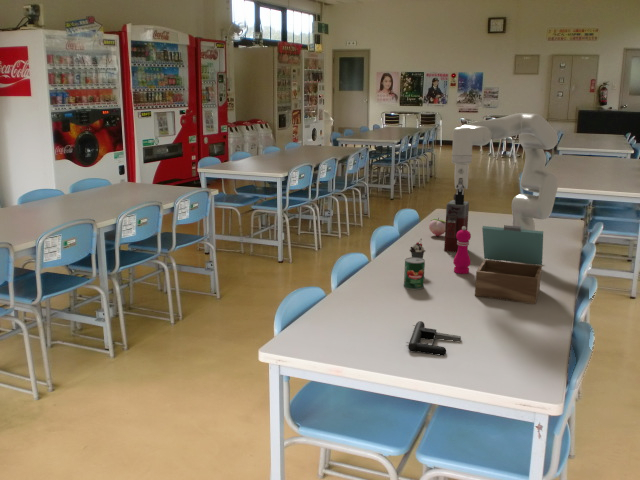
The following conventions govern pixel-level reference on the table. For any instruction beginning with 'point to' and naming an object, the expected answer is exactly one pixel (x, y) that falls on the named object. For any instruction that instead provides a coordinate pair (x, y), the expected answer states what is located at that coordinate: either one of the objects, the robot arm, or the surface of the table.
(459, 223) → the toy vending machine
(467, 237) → the pepper mill
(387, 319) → the table surface
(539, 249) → the lid
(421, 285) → the canned tomato
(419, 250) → the sundae
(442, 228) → the decorative fruit
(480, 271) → the box
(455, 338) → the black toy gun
